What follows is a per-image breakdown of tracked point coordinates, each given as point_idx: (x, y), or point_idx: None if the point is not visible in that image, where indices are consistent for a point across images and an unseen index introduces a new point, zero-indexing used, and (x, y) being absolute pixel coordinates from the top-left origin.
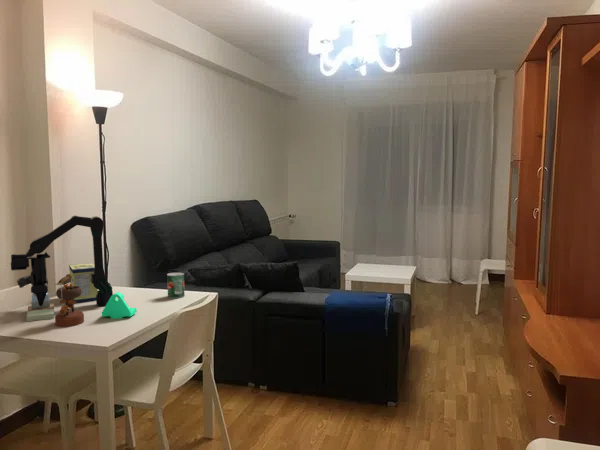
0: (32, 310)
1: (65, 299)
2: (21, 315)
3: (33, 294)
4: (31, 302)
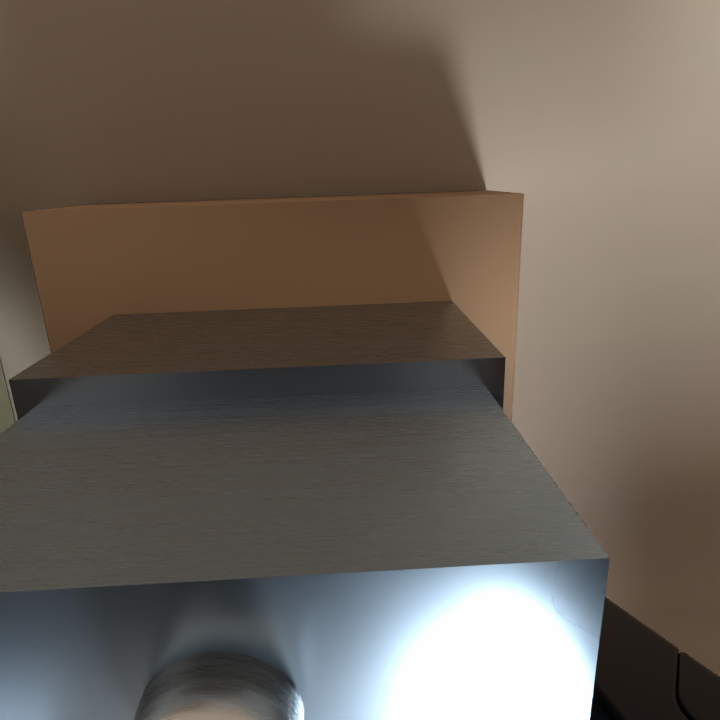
0: (59, 330)
1: None
2: (63, 49)
3: (154, 689)
4: (35, 383)
